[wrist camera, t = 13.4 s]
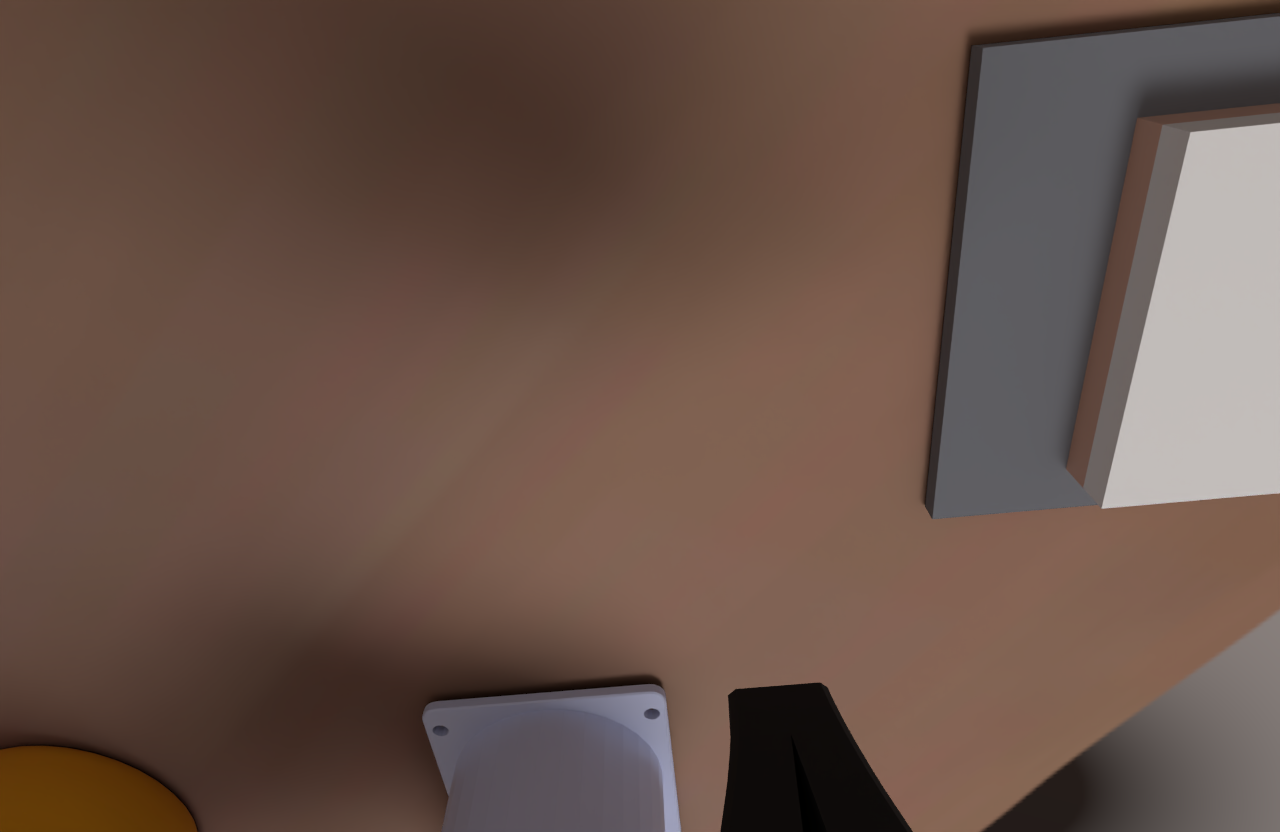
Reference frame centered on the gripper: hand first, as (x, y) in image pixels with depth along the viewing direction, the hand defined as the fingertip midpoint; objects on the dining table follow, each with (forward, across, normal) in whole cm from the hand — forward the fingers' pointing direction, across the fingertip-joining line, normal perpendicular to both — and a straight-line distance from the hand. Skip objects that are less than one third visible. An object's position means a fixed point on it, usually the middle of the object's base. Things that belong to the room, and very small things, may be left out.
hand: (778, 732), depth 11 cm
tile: (+9, -9, -2) cm, 13 cm away
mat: (+10, -11, -2) cm, 15 cm away
